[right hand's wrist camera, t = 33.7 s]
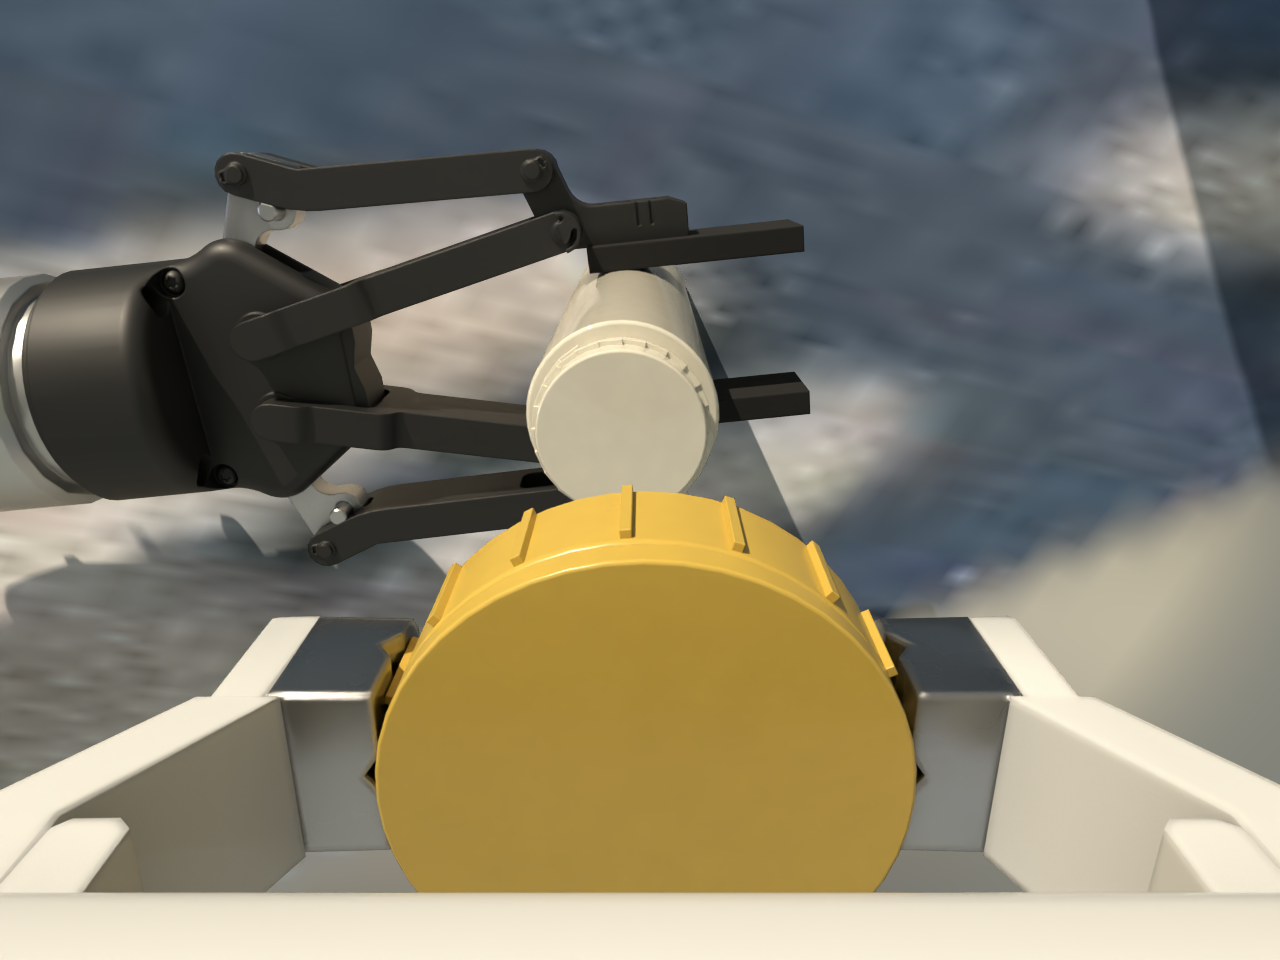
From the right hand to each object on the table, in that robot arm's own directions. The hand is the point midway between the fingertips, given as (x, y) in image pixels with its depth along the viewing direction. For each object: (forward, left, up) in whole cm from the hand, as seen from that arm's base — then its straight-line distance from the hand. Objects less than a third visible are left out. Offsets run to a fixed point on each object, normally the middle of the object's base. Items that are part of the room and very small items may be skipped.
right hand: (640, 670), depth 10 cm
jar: (0, 0, -27) cm, 27 cm away
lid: (0, 0, +1) cm, 2 cm away
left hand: (-5, +2, -20) cm, 21 cm away
